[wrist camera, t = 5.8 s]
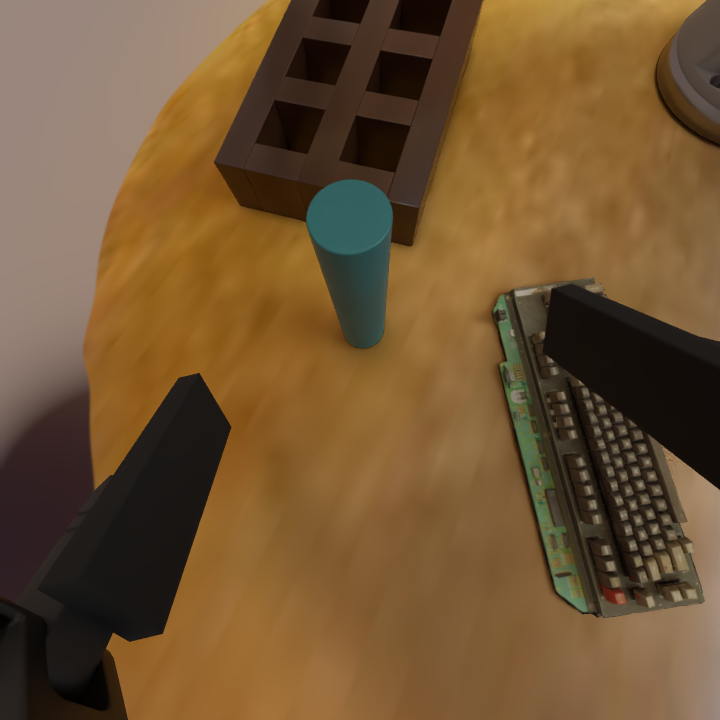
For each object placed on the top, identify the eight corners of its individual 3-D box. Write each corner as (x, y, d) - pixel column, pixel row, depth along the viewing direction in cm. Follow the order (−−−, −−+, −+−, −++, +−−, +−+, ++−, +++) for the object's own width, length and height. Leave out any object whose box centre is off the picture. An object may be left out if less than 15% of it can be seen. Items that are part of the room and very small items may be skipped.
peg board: (471, 48, 29) (488, -18, 25) (412, 246, 25) (419, 208, 21) (319, 24, 31) (310, -42, 27) (239, 205, 27) (213, 162, 23)
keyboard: (704, 598, 19) (742, 618, 17) (558, 617, 19) (579, 639, 17) (595, 279, 24) (615, 265, 22) (480, 296, 24) (489, 284, 22)
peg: (388, 315, 24) (403, 188, 11) (377, 353, 23) (379, 264, 11) (350, 305, 24) (321, 170, 12) (337, 342, 24) (293, 242, 11)
